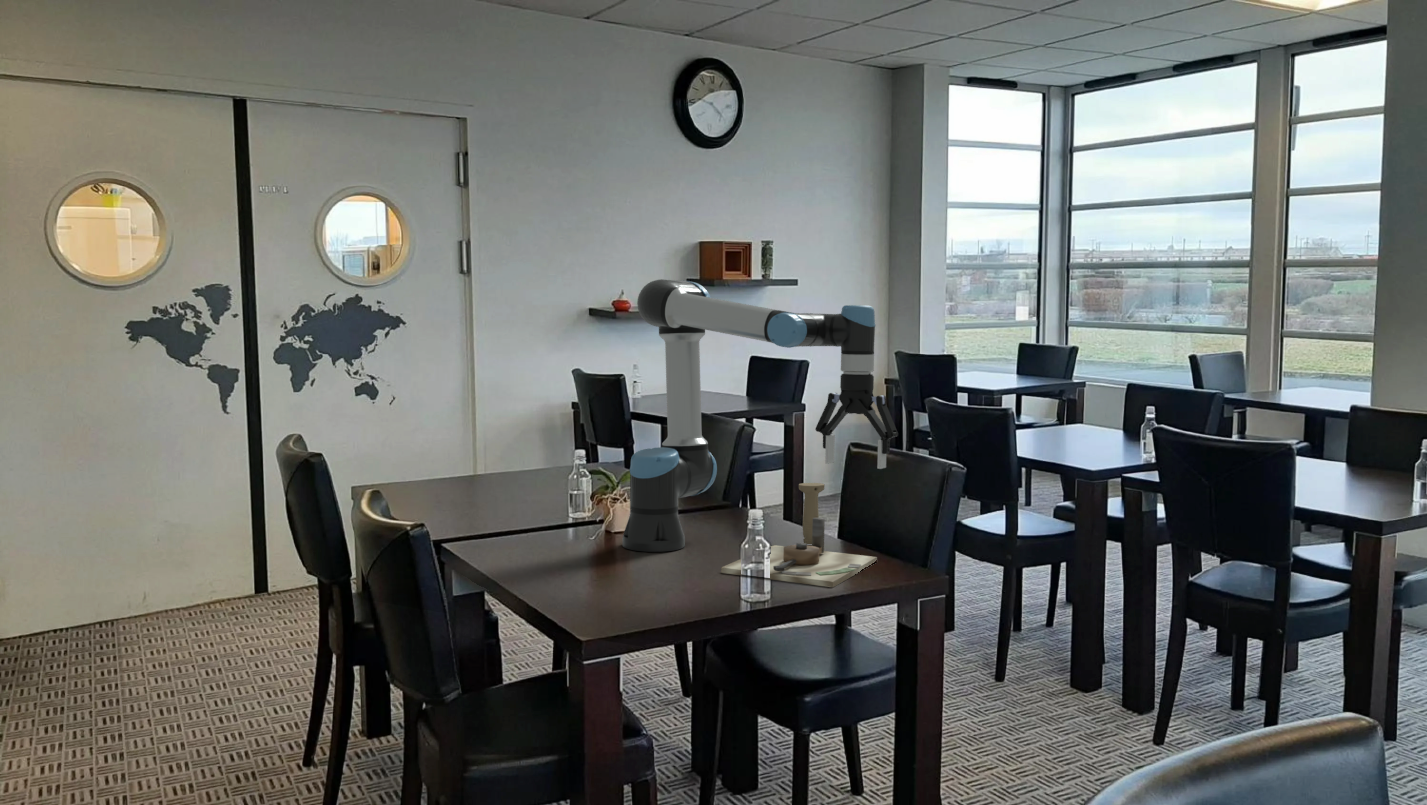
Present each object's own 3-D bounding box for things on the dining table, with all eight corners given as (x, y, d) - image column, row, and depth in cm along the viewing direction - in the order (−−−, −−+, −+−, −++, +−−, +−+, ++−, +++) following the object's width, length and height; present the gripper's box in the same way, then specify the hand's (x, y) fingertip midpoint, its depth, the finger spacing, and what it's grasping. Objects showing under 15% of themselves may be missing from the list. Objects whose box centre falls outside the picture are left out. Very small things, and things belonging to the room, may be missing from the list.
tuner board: (721, 572, 243) (721, 566, 243) (773, 550, 268) (773, 544, 267) (834, 587, 231) (834, 580, 231) (878, 562, 256) (878, 556, 255)
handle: (826, 545, 274) (827, 485, 273) (802, 547, 272) (804, 486, 270) (817, 541, 278) (818, 482, 277) (794, 543, 276) (795, 483, 275)
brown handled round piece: (793, 574, 235) (794, 537, 235) (759, 570, 239) (760, 533, 238) (836, 553, 257) (837, 519, 257) (804, 549, 261) (805, 516, 260)
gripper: (914, 374, 249) (912, 468, 250) (818, 370, 264) (817, 459, 265) (898, 375, 243) (896, 472, 244) (802, 371, 258) (800, 462, 259)
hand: (855, 465), depth 255 cm, fingers open, 13 cm apart
